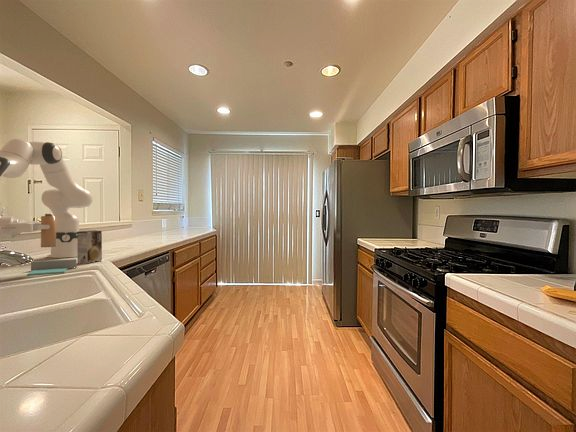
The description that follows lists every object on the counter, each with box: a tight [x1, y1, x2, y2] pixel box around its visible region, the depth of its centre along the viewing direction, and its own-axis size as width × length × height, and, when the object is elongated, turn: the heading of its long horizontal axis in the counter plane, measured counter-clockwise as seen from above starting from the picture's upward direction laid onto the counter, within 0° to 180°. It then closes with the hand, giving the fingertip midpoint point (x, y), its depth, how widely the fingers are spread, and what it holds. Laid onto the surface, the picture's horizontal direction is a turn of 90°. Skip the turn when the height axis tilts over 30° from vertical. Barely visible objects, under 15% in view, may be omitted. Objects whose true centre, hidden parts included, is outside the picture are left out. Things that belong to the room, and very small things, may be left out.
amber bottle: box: [40, 213, 56, 248], centre depth 129 cm, size 5×5×14 cm
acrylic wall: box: [30, 258, 77, 272], centre depth 135 cm, size 1×16×4 cm, turn 119°
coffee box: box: [76, 229, 103, 264], centre depth 155 cm, size 9×6×16 cm
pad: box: [27, 268, 68, 276], centre depth 129 cm, size 9×12×1 cm
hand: (51, 226), depth 129 cm, fingers closed on amber bottle, 5 cm apart
